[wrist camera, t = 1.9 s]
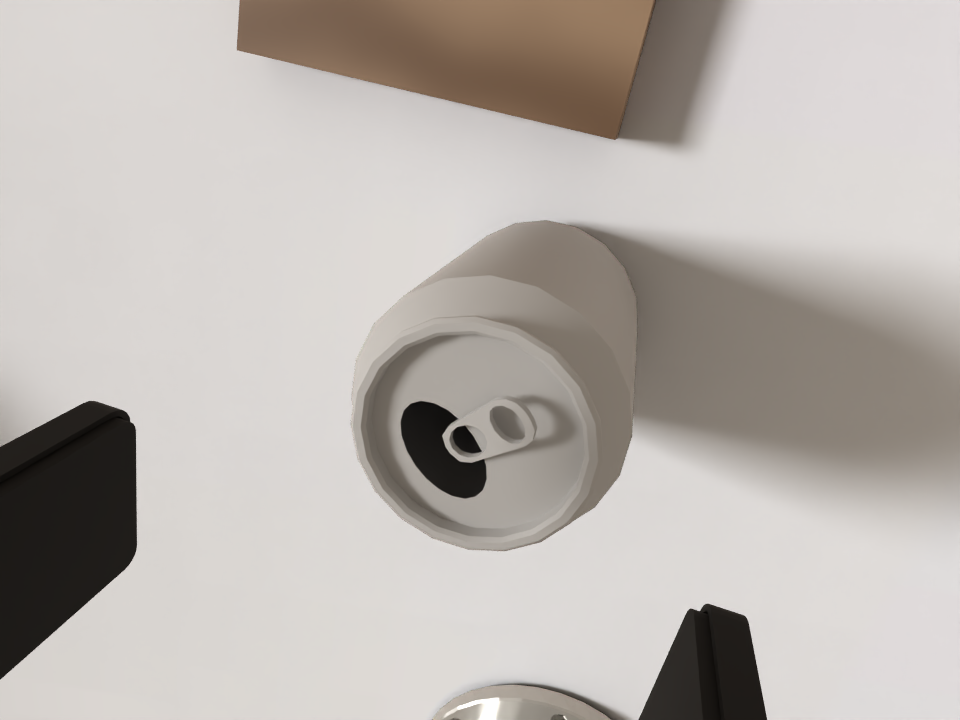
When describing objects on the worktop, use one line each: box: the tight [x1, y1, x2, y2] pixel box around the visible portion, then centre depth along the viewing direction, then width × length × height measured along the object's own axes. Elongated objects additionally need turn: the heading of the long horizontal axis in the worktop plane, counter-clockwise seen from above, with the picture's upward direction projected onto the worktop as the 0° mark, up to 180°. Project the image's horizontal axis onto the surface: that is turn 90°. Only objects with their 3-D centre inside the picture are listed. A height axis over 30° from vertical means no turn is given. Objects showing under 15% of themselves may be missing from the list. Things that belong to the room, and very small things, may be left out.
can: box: [351, 220, 638, 551], centre depth 21 cm, size 8×8×12 cm
